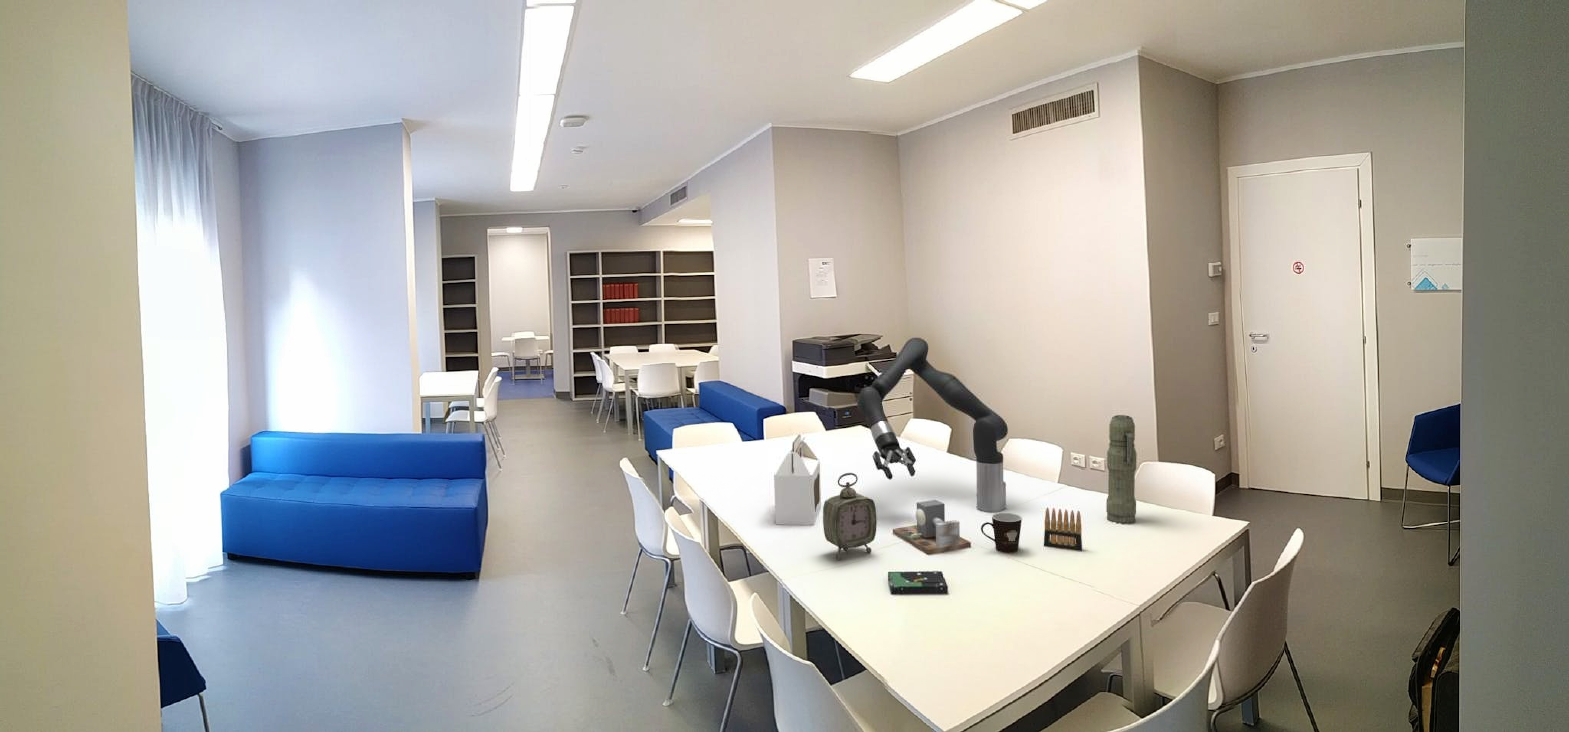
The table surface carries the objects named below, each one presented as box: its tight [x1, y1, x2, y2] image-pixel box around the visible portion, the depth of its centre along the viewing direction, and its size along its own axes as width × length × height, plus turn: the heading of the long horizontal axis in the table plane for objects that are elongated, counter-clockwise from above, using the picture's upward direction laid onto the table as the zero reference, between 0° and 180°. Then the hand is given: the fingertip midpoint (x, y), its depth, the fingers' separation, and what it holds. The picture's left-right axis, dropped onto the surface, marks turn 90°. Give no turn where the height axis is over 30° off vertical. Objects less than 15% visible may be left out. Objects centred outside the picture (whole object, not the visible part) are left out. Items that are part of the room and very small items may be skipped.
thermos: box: [1105, 414, 1138, 525], centre depth 239 cm, size 9×12×35 cm
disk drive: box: [887, 570, 949, 595], centre depth 193 cm, size 10×3×15 cm
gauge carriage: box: [911, 499, 946, 538], centre depth 225 cm, size 10×8×10 cm
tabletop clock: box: [822, 472, 878, 561], centre depth 217 cm, size 14×9×25 cm, turn 117°
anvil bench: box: [892, 519, 972, 556], centre depth 228 cm, size 15×22×8 cm
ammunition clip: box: [1043, 507, 1083, 552], centre depth 217 cm, size 11×2×12 cm, turn 61°
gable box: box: [773, 434, 822, 526], centre depth 257 cm, size 22×13×28 cm, turn 170°
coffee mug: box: [980, 512, 1023, 554], centre depth 218 cm, size 12×9×10 cm
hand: (902, 476), depth 242 cm, fingers open, 8 cm apart
